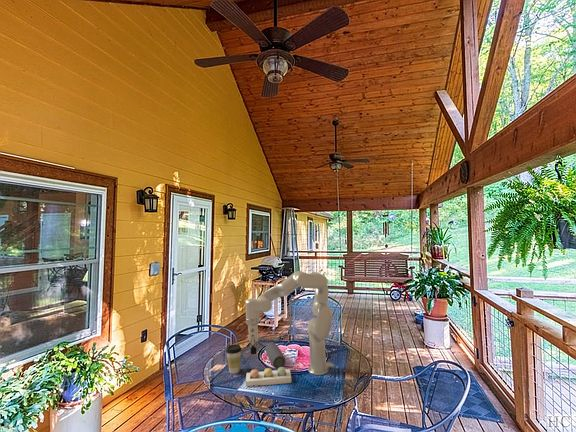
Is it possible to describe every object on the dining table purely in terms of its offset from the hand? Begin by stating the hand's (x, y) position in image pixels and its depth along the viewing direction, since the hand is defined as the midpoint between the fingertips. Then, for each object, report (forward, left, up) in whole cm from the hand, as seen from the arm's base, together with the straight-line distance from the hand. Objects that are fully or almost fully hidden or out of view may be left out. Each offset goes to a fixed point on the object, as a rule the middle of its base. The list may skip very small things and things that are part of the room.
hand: (253, 351), depth 177 cm
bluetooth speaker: (-13, -20, -18) cm, 30 cm away
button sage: (-16, 0, -15) cm, 22 cm away
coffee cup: (+13, -14, -18) cm, 26 cm away
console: (-8, 0, -18) cm, 19 cm away
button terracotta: (0, 0, -15) cm, 15 cm away
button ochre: (-8, 0, -15) cm, 17 cm away
